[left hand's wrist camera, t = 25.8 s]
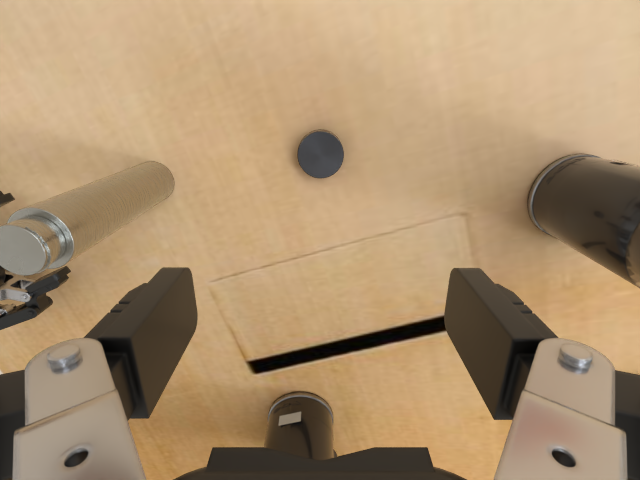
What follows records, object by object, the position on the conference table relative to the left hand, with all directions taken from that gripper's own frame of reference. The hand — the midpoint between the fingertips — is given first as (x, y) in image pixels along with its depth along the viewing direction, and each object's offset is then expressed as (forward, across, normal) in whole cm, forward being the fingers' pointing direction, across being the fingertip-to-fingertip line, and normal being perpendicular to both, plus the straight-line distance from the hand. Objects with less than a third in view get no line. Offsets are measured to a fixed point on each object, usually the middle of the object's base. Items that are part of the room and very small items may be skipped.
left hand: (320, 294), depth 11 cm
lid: (+28, 0, 0) cm, 29 cm away
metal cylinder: (+30, +18, +3) cm, 36 cm away
